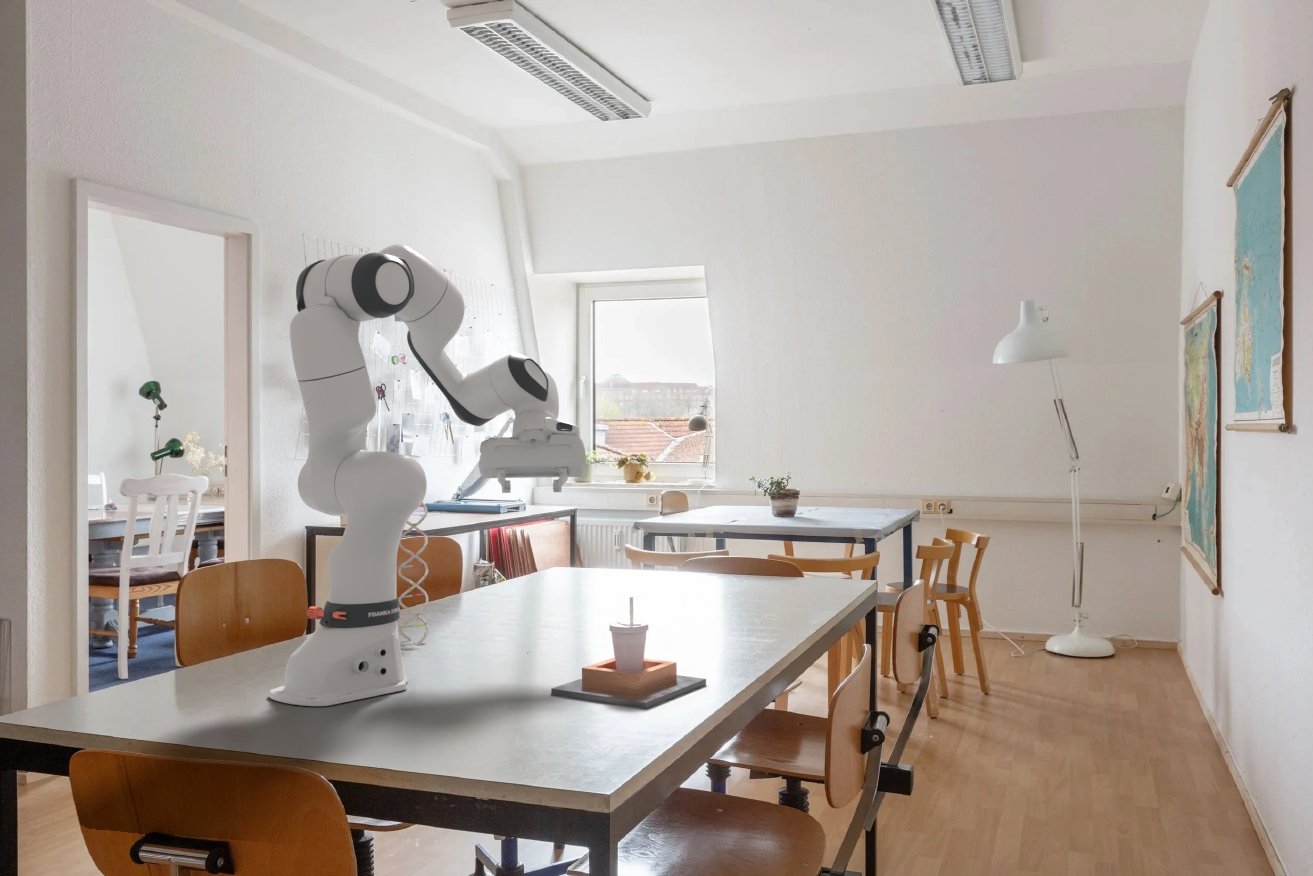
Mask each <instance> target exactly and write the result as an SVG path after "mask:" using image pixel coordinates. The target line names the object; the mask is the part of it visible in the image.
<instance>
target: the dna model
mask: <svg viewBox="0 0 1313 876" xmlns="http://www.w3.org/2000/svg"><path fill="white" fill-rule="evenodd" d="M418 508H423V510H424V515H422V517H421V518H420V519H419V520H418V521H417V522H415V523H412V522H411V521H409V520H407V522H406V525H408V526H409V528H408V529H406V530H405V531H403V532H402V535H401V539H400V542H399V547H400V549H401V550H403V551H404V553H407V554H408V555H410V557H409V558H408V559H406V561H404V562H403V563H402V564H401V565H399V567H398V568H397V573H398V575H399V577H400V578H402V579H403V580H404V581H406V582H407V583H408V584H410V585H411V587H409V588H408V589H406V590H405V591H403V592H402V593H401V595H399V597H398V598H399V606H400V607H402V608H403V609H405V611H408V612H409V613H411V614H413V615H412V616H411V617H410V618H407V620H406V621H404V622H403V623H402V624H401V625H400V626H398V627H399V628H398V634H399V635H401V637H402V638H404V639H407V640H408V641H411V640H412V639H411V638H410V637H408V636H407V635H406V634H405V633H404V632H402V629H403V628H413V627H422V626H425V629H426V630H425V632H424V634H423V636H422V638H421V639H420V640H419V641H418V642H417V643H416V645H418V646H419V645H420V644H422V643H423V642H424V641H425V640H426V638H427V636H428V635H429V633H430V632H429V631H430V627H429V626H430V625H429V623H428V622H427V621H426V619H425V618H424V617H423V616H421V615H420V614H421V613H423V612H424V611H425V610H426V608H427V606H428V604H429V595H428V594H427V591H425V590H424V589H423V588H422V587H421V586H420V584H421V583H423V582H424V580H425V579H426V578H427V576H428V574H429V568H428V564H429V563H428V562H425V561H424V560H423V559H422V558H420V557H419V555H420V554H421V553H422V552H424V550H425V549H426V548H427V545H428V540H429V538H428V536H427V534H426V533H425V532H424V531H422V529H420V528H419V527H417V526H419V525H420V524H421V523H422V522H423V521H424V520H425V518H426V517H427V516H428V508H427V504H426V503H424V502H422V503H421V505H420V506H419V507H418ZM413 529H415V530H416V533H420V534H415V535H407V534H408V533H411V532H412V530H413ZM412 537H414V538H416V537H423V539H424V544H423V545H422V547H421V548H420V550H418V551H417V552H416V553H414V552H412V551H411V550H409V549H407V548H406V547H405V546H404V545H403V544H402V538H412ZM414 559H416V560H417V561H418V562H419V563H420V564H414V565H413V564H412V565H410V564H409V565H407V564H408V563H412V560H414ZM414 567H424V569H425V571H424V573H423V576H422V577H421V578H420V579H419V580H418V581H417V582H414V581H412V579H409V578H407V577H406V576H404V575H403V574H402V571H401V570H402V569H405V568H414ZM415 588H416V589H418V590H419V591H420V592H421V593H418V594H417V593H416V594H410V595H409V594H408V593H410V592H412V590H414V589H415ZM407 594H408V595H407ZM415 596H424V597H425V603H424V604H423V606H422V607H421V609H419V610H418V611H417V612H416V611H414V610H412V609H411V608H409V607H408V606H406V604H404V602H403V601H402V599H404V598H412V597H415ZM414 619H416V620H420V621H421V622H422V623H419V624H413V625H407V624H409V623H410V622H411V621H412V620H414Z"/></svg>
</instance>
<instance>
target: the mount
mask: <svg viewBox="0 0 1313 876" xmlns="http://www.w3.org/2000/svg"><path fill="white" fill-rule="evenodd" d="M705 686H707V679H706V678H703V677H702V678H701V677H693V676H686V675H679V674H678V671H677V662H676V661H669V660H660V659H653V658H644V660H643V669H642V671H639V672H629V671H621V670H616V663H615V657H613V658H612V657H611V658H609V659H606V660H603V661H600V662H596V663H594V664H590V665H587V666H583V667H581V678H580V679H576V680H573V681H570V682H567V683H565V684H561V685H558V686H554V687H551V689H550V691H551V693H550V694H551V696H558V697H563V698H571V699H575V700H584V701H589V702H597V703H604V704H609V705H616V706H623V707H627V708H628V707H630V708H637V709H642V710H648V709H650V708H653V707H654V706H657V705H660V704H663V703H665V702H667V701H670V700H672V699H675V698H678V697H680V696H682V695H685V694H687V693H689V692H692V691H695V690H697V689H700V688H702V687H705Z"/></svg>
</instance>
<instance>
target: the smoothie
mask: <svg viewBox="0 0 1313 876" xmlns="http://www.w3.org/2000/svg"><path fill="white" fill-rule="evenodd" d="M608 630H609V631H610V632H611V640H612V641H611V642H612V646H613V653H614V654H613V655H614V658H615V663H616V670H621V671H629V672H639V671H642V669H643V660H644V657H645V652H646V651H645V650H646V649H645V648H646V640H647V632H648V631H649V623H648V622H647V621H643V620H635V619H634V597H633V596H629V619H628V620H617V621H613V622H610V623H609V629H608Z"/></svg>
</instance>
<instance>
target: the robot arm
mask: <svg viewBox="0 0 1313 876" xmlns="http://www.w3.org/2000/svg"><path fill="white" fill-rule="evenodd" d="M295 287H296V288H295V296H296V299H295V300H296V309H297V311H298V312H297V313H296V314H295V315H294V317H292V319H291V321H290V325H289V337H290V348H291V355H292V360H293V362H292V363H293V366H294V371H295V375H296V379H297V383H298V387H299V391H300V395H301V399H302V403H303V407H304V411H305V415H306V419H307V423H308V424H307V425H308V433H309V435H308V436H309V438H308V453H307V457H306V458H307V459H306V461H305V463H304V465H303V466H302V468H301V469H300V471H299V474H298V478H297V491H298V493H299V497H300V498H301V500H302V501H303V503H304V504H305V505H306V506H307V507H308V508H310V509H312V510H315V511H317V512H320V513H323V514H325V515H328V516H333V517H334V516H336V517H347V518H346V519H347V520H346V525H345V528H344V532H343V535H342V537H341V539H340V540H339V543H338V544H337V545H335V546H334V547H333V548H332V549H331V550H330V552H329V554H328V557H327V588H328V589H327V592H328V593H327V594H328V596H327V597H328V600H327V601H326V602H325V605H324V607H320V606H318V607H317V606H309V607H308V609H307V610H306V614H307V615H306V616H307V617H308V619H311V620H314V619H315V620H319V627H317V628H316V629H315V630H314V632H312V634H311V635H309V636H308V638H306V640H305V641H304V642H303V643H301V645H299V646H298V647H297V649H296V650H294V652H293V653H291V655H290V656H289V657H288V659H287V662H286V667H285V670H284V671H285V672H284V682H283V684H284V685H281V686H279V687H276V688H272V689H270V690H269V698H270V699H271V700H274V701H276V702H280V703H284V704H290V705H297V706H303V707H304V706H305V707H306V706H307V707H328V706H334V705H339V704H344V703H347V702H353V701H356V700H362V699H367V698H371V697H377V696H380V695H385V694H391V693H396V692H401V691H404V690H407V682H408V677H407V673H406V669H405V666H404V662H403V658H402V657H403V656H402V648H401V642H400V641H401V640H400V636H399V635H400V634H399V628H398V627H399V626H398V625H399V624H398V620H399V619H400V616H401V615H400V610H401V609H400V607H401V606H400V604H399V597H398V596H397V575H398V574H397V573H398V566H397V565H398V552H399V547H400V546H399V542H401V540H402V538H401V535H402V534H403V533H404V529H405V527H406V525H407V523H406V522H407V521H409V518H410V517H411V515H412V514H413V513H415V512H416V510H417V509H418V508H420V507H419V506H420V505H421V503H422V502H423V501H424V499H425V497H426V493H427V487H428V486H427V477H426V473H425V471H424V469H423V467H422V465H421V464H420V463H419V462H418V461H417V460H416V459H415V458H412V457H410V456H407V455H404V454H400V453H398V452H397V453H396V452H392V451H369V450H368V448H367V429H368V424H370V422H371V421H372V420H373V419H374V418H375V415H376V414H377V403H376V399H375V395H374V391H373V387H372V384H371V380H370V376H369V371H368V368H367V364H366V360H365V357H364V354H363V350H362V347H361V344H360V341H359V331H360V330H359V329H360V326H361V322H368V321H373V320H375V319H385V318H389V317H391V316H393V315H396V316H397V317H398V318H399V319H400V320H401V321H403V323H404V324H405V326H406V327H407V329H408V331H407V333H406V339H407V340H406V341H407V344H408V347H409V349H410V351H411V353H412V355H413V356H414V358H415V359H416V360H417V362H418V364H419V365H420V366H421V367H422V369H424V372H426V374H427V375H428V376H429V377H430V379H431V380H432V382H433V383H434V384H435V385H436V387H437V388H438V390H440V392H441V393H442V394H443V396H444V397H445V398H446V400H447V401H448V403H449V405H450V407H451V409H452V410H453V412H454V414H455V415H456V417H458V419H459V420H461V421H462V422H464V423H466V424H468V425H471V426H474V427H475V426H476V427H482V426H483V425H486V423H488V422H490V421H491V420H493V419H495V418H496V417H497V416H499V415H501V414H503V413H506V412H508V411H510V410H512V411H513V412H514V420H513V423H512V432H511V433H512V434H511V435H512V436H503V437H496V436H495V437H494V436H492V437H491V436H490V437H488V439H485V440H483V441H481V443H480V445H479V452H480V456H479V460H478V469H479V474H480V476H481V477H483V478H484V479H497V482H498V483H499V484H500V485H501V491H502V492H501V493H502V494H511V490H512V484H511V480H508V479H517V478H518V479H521V478H522V479H525V478H527V479H529V478H530V479H531V478H536V479H537V478H557V479H553V481H552V482H553V483H552V489H553V490H552V491H553V493H562V487H563V486H564V485H565V484H566V482H567V481H569V479H568V478H582V477H584V476H585V475H586V474H587V456H586V449H585V445H584V441H583V439H582V438H581V434H580V433H581V432H580V427H579V426H578V425H577V424H573V423H569V422H564V421H561V420H558V418H559V414H560V413H559V412H560V411H559V410H560V402H559V401H560V399H559V392H558V387H557V383H556V381H555V379H554V378H553V377H552V376H551V374H549V373H548V372H546V371H545V370H543V369H542V367H541V366H540V365H539V364H538V362H536V361H535V360H534V359H533V358H530V357H528V356H527V355H524V354H521V353H517V352H512V353H510V354H507V355H505V356H503V357H501V358H499V359H497V360H495V361H493V362H492V363H490V364H488V365H486V366H483V368H480V369H478V370H477V371H475V372H471V373H462V372H461V371H460V370H459V369H458V367H457V366H456V364H455V363H454V362H453V360H451V358H450V357H449V356H448V354H447V353H446V352H445V350H444V349H445V348H446V346H447V345H448V344H449V342H451V340H452V339H453V338H454V337H455V336H456V335H457V333H458V331H459V329H460V327H461V325H462V324H463V320H464V316H465V311H466V310H465V302H464V301H465V300H464V297H463V295H462V294H461V291H460V290H459V289H458V288H457V286H456V285H455V284H454V283H453V281H451V280H450V279H449V278H448V277H447V276H446V275H445V274H444V273H443V272H442V270H440V269H439V268H438V267H437V266H436V265H434V264H433V263H432V262H431V261H430V260H428V259H427V258H426V257H424V256H423V255H422V254H420V253H418V251H416V250H414V249H412V248H411V247H409V246H407V245H405V244H398V243H397V244H391V245H389V246H386V247H385V248H383V249H381V250H380V251H379V252H369V253H365V254H359V253H358V254H343V255H338V256H335V257H330V258H328V259H320V260H317V261H315V262H313V263H312V264H309V265H307V266H306V267H305V268H304V269H303V270H301V272H300V274H299V276H298V278H297V281H296V286H295ZM423 503H424V502H423ZM400 539H401V540H400Z"/></svg>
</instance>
